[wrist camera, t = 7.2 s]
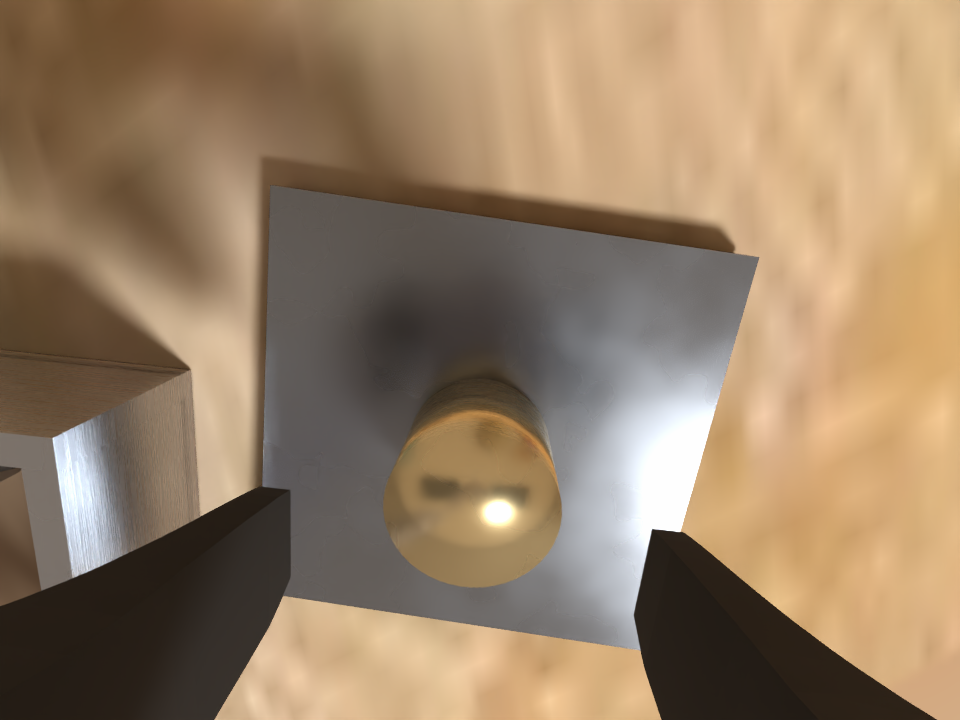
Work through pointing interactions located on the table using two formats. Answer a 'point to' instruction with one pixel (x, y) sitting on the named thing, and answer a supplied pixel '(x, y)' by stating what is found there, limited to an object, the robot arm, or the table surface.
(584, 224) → the table surface
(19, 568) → the copper block
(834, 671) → the robot arm
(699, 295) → the lid
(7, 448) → the tin
